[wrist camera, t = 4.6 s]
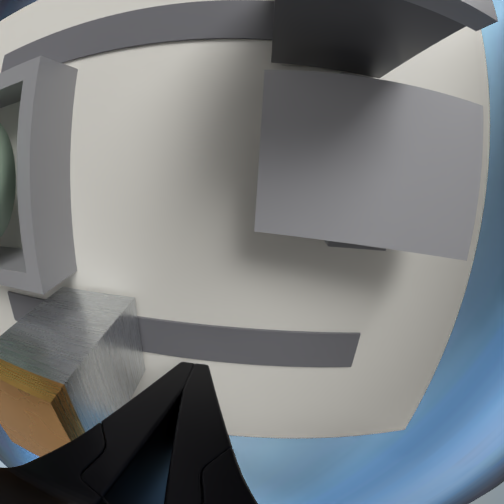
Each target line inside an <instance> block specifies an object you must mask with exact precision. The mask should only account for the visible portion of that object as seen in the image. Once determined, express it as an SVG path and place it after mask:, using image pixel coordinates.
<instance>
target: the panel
mask: <svg viewBox="0 0 504 504" xmlns="http://www.w3.org/2000/svg"><path fill="white" fill-rule="evenodd" d="M274 1H275V0H38V1H36V2H34V3H32V4H30V5H28V6H26V7H24V8H22V9H21V10H19V11H17V12H15V13H13V14H12V15H10V16H8V17H6V18H5V19H3V20H1V21H0V123H1V124H2V126H3V127H4V128H5V130H6V132H7V134H8V136H9V139H10V142H11V145H12V149H13V154H14V161H15V173H16V188H15V199H14V206H13V211H12V215H11V218H10V221H9V224H8V226H7V228H6V230H5V232H4V234H3V235H2V236H1V237H0V336H1V335H2V334H3V333H4V332H5V331H7V330H8V329H9V328H10V327H11V326H13V325H14V324H15V323H16V322H18V321H19V320H20V319H21V318H23V317H24V316H25V315H26V314H28V313H29V312H30V311H31V310H33V309H34V308H35V307H36V306H38V305H39V304H40V303H42V302H43V301H44V300H46V299H47V298H48V297H50V296H51V295H52V294H54V293H55V292H56V291H58V290H59V289H60V288H62V287H67V288H73V289H79V290H86V291H92V292H99V293H106V294H113V295H120V296H127V297H135V302H136V310H137V318H138V326H139V333H140V340H141V346H142V353H143V359H144V364H145V372H144V374H143V376H142V378H141V380H140V382H139V384H138V386H137V388H136V390H135V392H134V394H133V396H132V398H131V399H133V398H134V397H135V396H137V395H138V394H139V393H141V392H142V391H143V390H145V389H146V388H147V387H149V386H150V385H151V384H153V383H154V382H155V381H157V380H158V379H159V378H161V377H162V376H163V375H164V374H166V373H167V372H168V371H170V370H171V369H172V368H174V367H175V366H176V365H177V364H179V363H180V362H189V363H194V364H196V363H197V364H206V365H208V366H209V369H210V373H211V376H212V380H213V384H214V387H215V391H216V395H217V398H218V402H219V405H220V409H221V412H222V416H223V419H224V422H225V426H226V429H227V432H228V435H233V436H245V437H262V438H330V437H346V436H358V435H368V434H377V433H385V432H392V431H398V430H405V428H406V427H407V425H408V423H409V421H410V420H411V418H412V416H413V414H414V413H415V411H416V409H417V407H418V405H419V403H420V401H421V400H422V398H423V396H424V394H425V392H426V390H427V388H428V386H429V384H430V381H431V379H432V377H433V375H434V373H435V371H436V369H437V366H438V364H439V362H440V359H441V357H442V355H443V352H444V350H445V348H446V345H447V343H448V340H449V337H450V335H451V332H452V329H453V327H454V324H455V321H456V318H457V315H458V313H459V310H460V306H461V303H462V300H463V297H464V294H465V290H466V287H467V283H468V280H469V276H470V273H471V269H472V265H473V261H474V256H475V252H476V248H477V243H478V238H479V233H480V228H481V222H482V216H483V210H484V203H485V195H486V187H487V177H488V165H489V148H490V102H489V86H488V74H487V65H486V57H485V50H484V44H483V38H482V32H481V29H480V30H478V31H474V30H473V29H471V28H469V27H467V26H466V27H464V28H462V29H461V30H459V31H457V32H455V33H453V34H452V35H450V36H448V37H446V38H444V39H443V40H441V41H439V42H438V43H436V44H434V45H432V46H431V47H429V48H427V49H426V50H424V51H422V52H421V53H419V54H417V55H416V56H414V57H412V58H411V59H409V60H408V61H406V62H404V63H403V64H401V65H400V66H398V67H396V68H395V69H393V70H392V71H390V72H389V73H387V74H386V75H384V76H382V77H381V78H375V79H381V80H387V81H392V82H397V83H402V84H407V85H412V86H416V87H421V88H425V89H429V90H433V91H437V92H440V93H444V94H448V95H451V96H455V97H458V98H461V99H464V100H467V101H470V102H473V103H476V104H479V105H482V106H483V153H482V168H481V179H480V188H479V197H478V204H477V211H476V217H475V223H474V229H473V234H472V239H471V244H470V248H469V253H468V257H467V261H465V260H459V259H452V258H446V257H439V256H433V255H426V254H420V253H413V252H406V251H399V250H392V249H385V248H378V247H371V246H364V245H357V244H349V243H342V242H334V241H327V240H319V239H312V238H304V237H296V236H288V235H280V234H272V233H263V232H255V231H254V229H255V213H256V197H257V182H258V166H259V150H260V134H261V118H262V102H263V86H264V70H295V71H314V72H326V73H337V74H346V75H354V76H362V77H369V78H374V77H370V76H365V75H360V74H355V73H350V72H344V71H339V70H332V69H326V68H319V67H311V66H303V65H294V64H283V63H271V56H272V38H273V20H274Z"/></svg>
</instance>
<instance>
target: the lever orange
mask: <svg viewBox="0 0 504 504" xmlns="http://www.w3.org/2000/svg"><path fill="white" fill-rule="evenodd" d="M144 372H145V364H144V359H143V353H142V346H141V340H140V333H139V326H138V318H137V310H136V302H135V297H127V296H120V295H113V294H106V293H99V292H92V291H86V290H79V289H73V288H67V287H62V288H60V289H59V290H58V291H56V292H55V293H54V294H52V295H51V296H50V297H48V298H47V299H46V300H44V301H43V302H42V303H40V304H39V305H38V306H36V307H35V308H34V309H33V310H31V311H30V312H29V313H28V314H26V315H25V316H24V317H23V318H21V319H20V320H19V321H18V322H16V323H15V324H14V325H13V326H11V327H10V328H9V329H8V330H7V331H5V332H4V333H3V334H2V335H1V336H0V424H1V426H2V427H3V429H4V430H5V432H6V433H7V435H8V436H9V437H10V439H11V440H12V441H13V442H14V443H16V444H18V445H19V446H21V447H23V448H25V449H26V450H28V451H30V452H32V453H34V454H36V455H38V456H39V457H41V456H43V455H45V454H47V453H49V452H51V451H53V450H55V449H57V448H59V447H61V446H63V445H65V444H67V443H68V442H70V441H72V440H74V439H76V438H77V437H79V436H80V435H82V434H83V433H85V432H86V431H88V430H89V429H91V428H92V427H94V426H95V425H97V424H98V423H101V421H102V420H104V419H105V418H107V417H108V416H109V415H111V414H112V413H113V412H115V411H116V410H118V409H119V408H120V407H122V406H123V405H124V404H126V403H127V402H129V401H130V400H131V398H132V396H133V394H134V392H135V390H136V388H137V386H138V384H139V382H140V380H141V378H142V376H143V374H144Z"/></svg>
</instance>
